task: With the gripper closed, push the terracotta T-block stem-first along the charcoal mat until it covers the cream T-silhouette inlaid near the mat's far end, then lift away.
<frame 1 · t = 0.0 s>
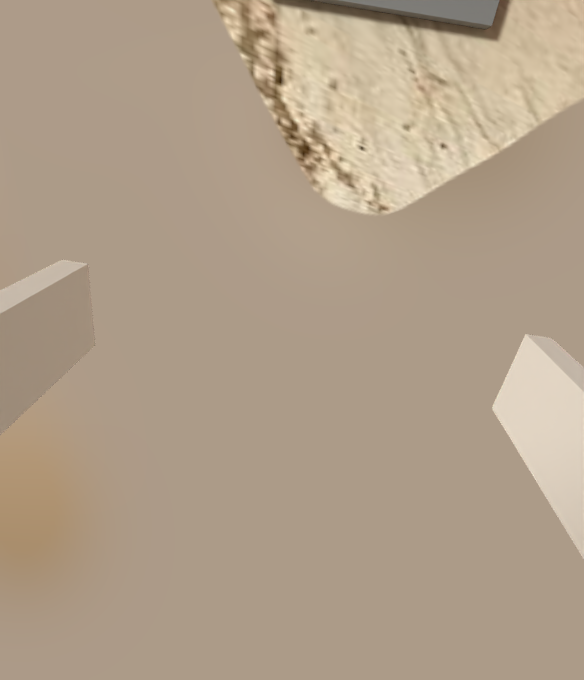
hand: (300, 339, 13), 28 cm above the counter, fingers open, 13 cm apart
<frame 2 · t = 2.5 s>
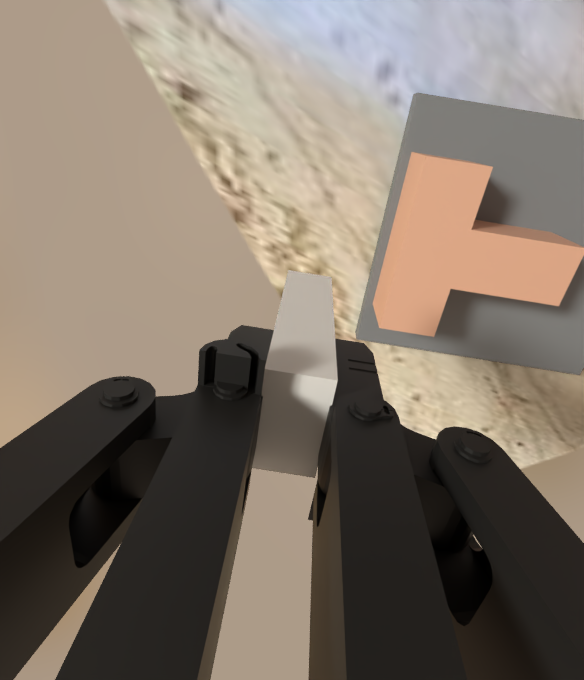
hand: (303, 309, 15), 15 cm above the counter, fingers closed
mat: (502, 248, 28), on the counter
t block: (465, 246, 27), point 1 cm above the counter, touching mat
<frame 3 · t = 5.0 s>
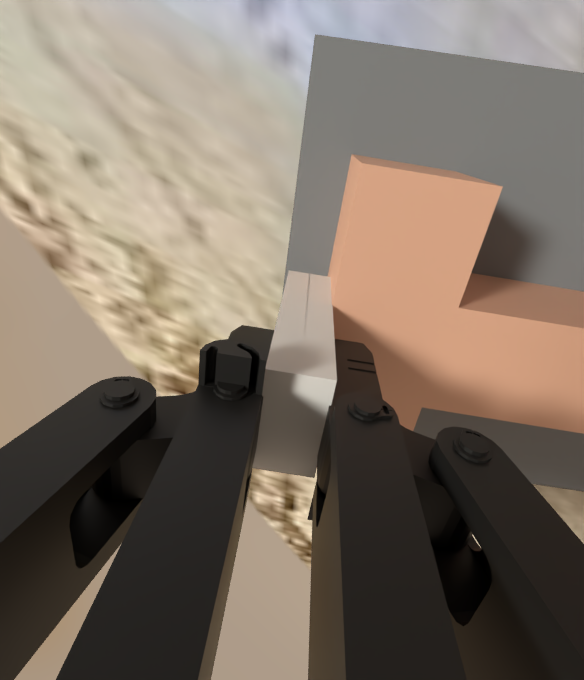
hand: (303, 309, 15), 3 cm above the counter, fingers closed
mat: (490, 307, 17), on the counter
t block: (451, 315, 16), point 1 cm above the counter, touching gripper
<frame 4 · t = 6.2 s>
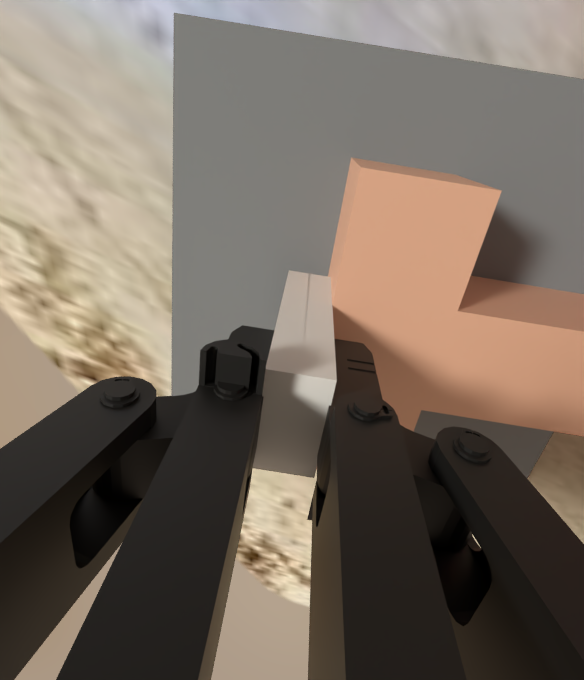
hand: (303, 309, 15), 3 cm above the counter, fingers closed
mat: (385, 294, 17), on the counter
t block: (450, 317, 16), point 1 cm above the counter, touching gripper, mat
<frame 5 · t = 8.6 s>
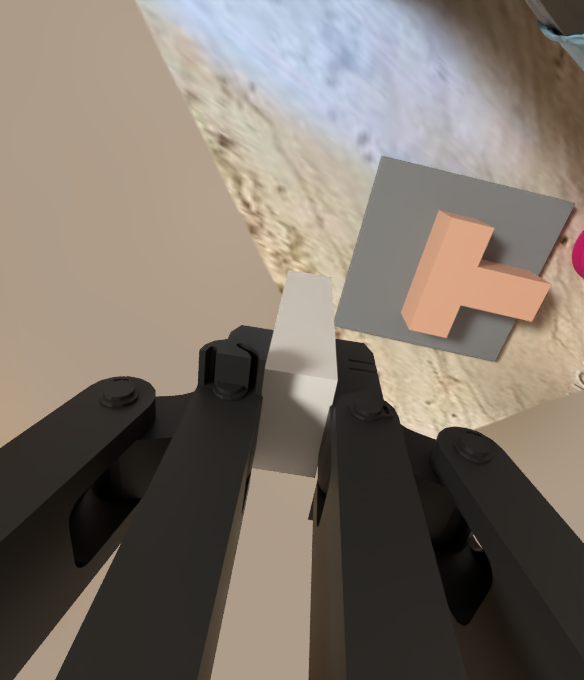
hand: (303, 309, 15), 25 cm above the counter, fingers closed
mat: (441, 265, 39), on the counter
t block: (469, 276, 38), point 1 cm above the counter, touching mat
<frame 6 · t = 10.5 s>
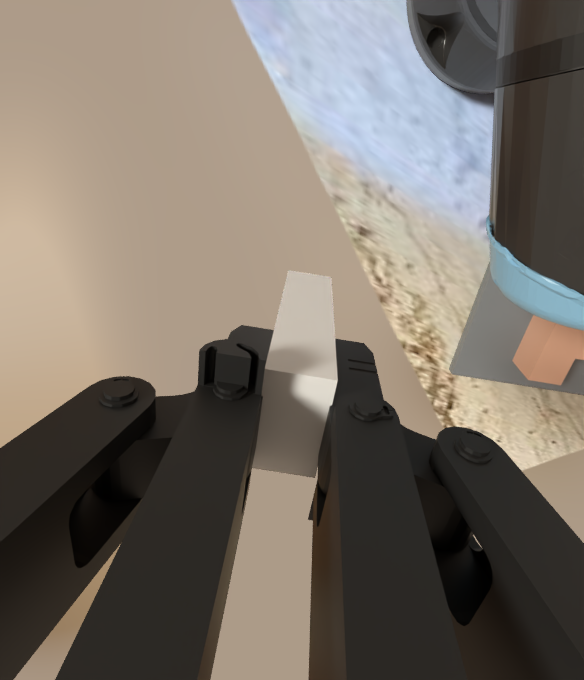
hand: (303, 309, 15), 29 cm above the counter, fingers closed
mat: (548, 319, 45), on the counter
t block: (576, 328, 44), point 1 cm above the counter, touching mat
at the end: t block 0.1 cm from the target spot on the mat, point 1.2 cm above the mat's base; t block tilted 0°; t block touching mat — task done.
